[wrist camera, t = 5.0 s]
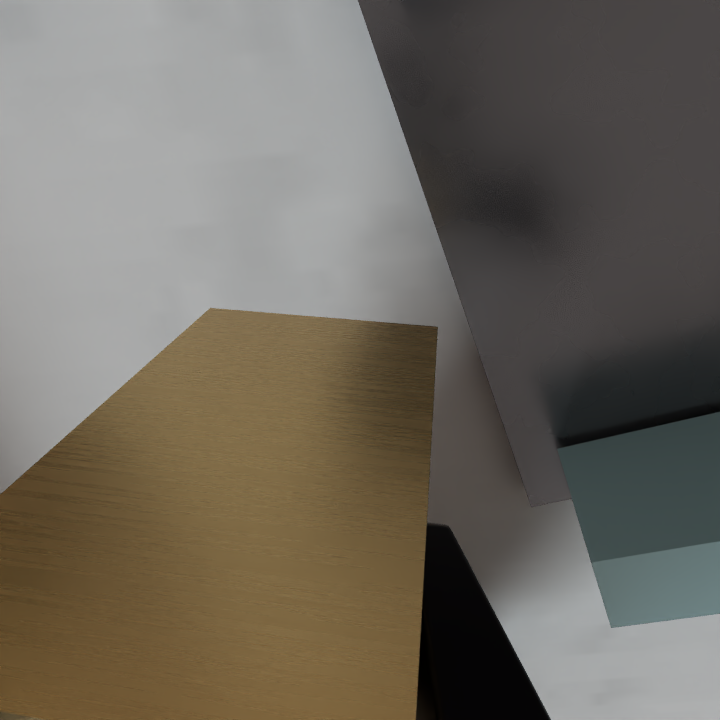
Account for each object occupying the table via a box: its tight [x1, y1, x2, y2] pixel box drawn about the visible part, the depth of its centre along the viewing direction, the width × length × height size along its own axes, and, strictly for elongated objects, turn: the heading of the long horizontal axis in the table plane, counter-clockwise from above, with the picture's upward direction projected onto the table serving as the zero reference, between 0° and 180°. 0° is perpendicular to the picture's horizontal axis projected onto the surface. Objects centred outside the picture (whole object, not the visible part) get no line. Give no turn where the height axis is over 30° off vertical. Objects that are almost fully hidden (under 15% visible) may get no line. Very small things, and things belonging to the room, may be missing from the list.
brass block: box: [0, 308, 438, 720], centre depth 7 cm, size 4×6×6 cm, turn 178°
